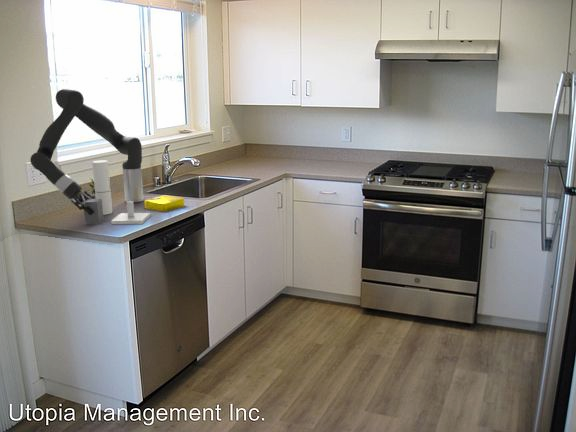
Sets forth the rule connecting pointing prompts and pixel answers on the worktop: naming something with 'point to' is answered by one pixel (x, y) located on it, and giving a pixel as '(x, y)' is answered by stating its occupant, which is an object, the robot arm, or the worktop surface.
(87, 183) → the house plant
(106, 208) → the cylindrical container
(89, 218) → the tall grey pillar
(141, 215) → the stud plate
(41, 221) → the worktop surface
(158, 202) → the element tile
